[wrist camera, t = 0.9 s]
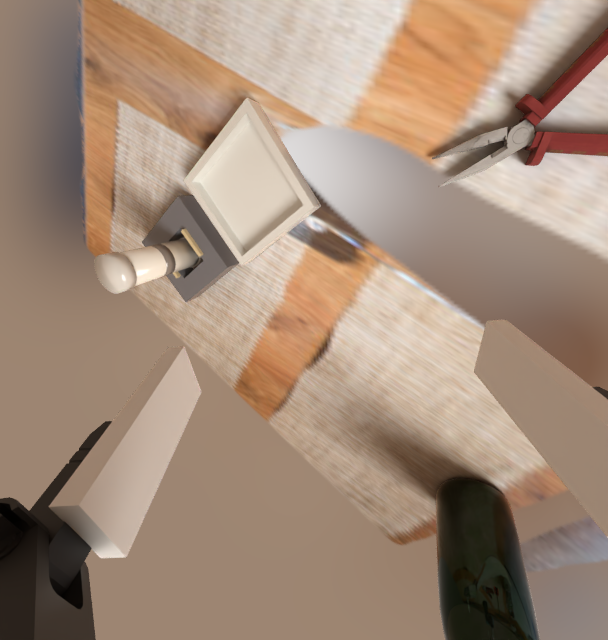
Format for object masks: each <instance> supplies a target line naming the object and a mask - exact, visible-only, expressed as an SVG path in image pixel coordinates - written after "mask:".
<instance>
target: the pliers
mask: <svg viewBox="0 0 608 640" xmlns="http://www.w3.org/2000/svg"><path fill="white" fill-rule="evenodd" d="M607 55H608V28H607V29H606V30H605V31H604V32H603V33H602V34H601V35H600V36H599V37H598V38H597V39H596V40H595V42H594V43H593V44H592V45H591V46H590V47H589V48H588V49H587V50H586V51H585V52H584V53H583V54H582V55H581V56H580V57H579V58H578V59H577V60H576V61H575V62H574V63H573V64H572V65H571V66H570V67H569V68H568V69H567V70H566V72H565V73H564V74H563V75H562V76H561V77H560V78H559V79H558V80H557V81H556V82H555V83H554V84H553V85H552V86H551V87H550V88H549V89H548V90H547V91H546V92H545V93H544V94H543V95H542V96H541V97H540V98H539V99H538V100H537V99H536V98H534V97H533V96H531V95H529V94H526V95H525V96H524V97H523V98H522V99H521V100H520V101H519V102H518V103H517V104H516V105H515V106H516V107H517V108H518V109H519V110H520V111H521V112H522V113H524V114H525V115H524V116H523V117H522V118H521V119H520V122H521V123H519V124H518V125H515V126H512V127H505V128H501V129H498V130H494V131H491V132H487V133H484V134H481V135H478V136H475V137H473V138H471V139H469V140H467V141H465V142H463V143H461V144H459V145H457V146H455V147H453V148H451V149H449V150H447V151H445V152H443V153H441V154H439V155H437V156H435V157H433V158H432V159H436V158H440V157H444V156H448V155H452V154H456V153H460V152H464V151H468V150H472V149H476V148H480V147H484V146H487V145H488V144H491V143H495V142H499V141H502V142H503V143H504V146H503V147H502V148H500V149H499V150H497V151H496V152H494V153H492V154H491V155H488V156H487V157H485V158H483V159H482V160H480V161H479V162H477V163H475V164H474V165H472V166H471V167H469V168H467V169H466V170H464V171H462V172H461V173H459V174H457V175H456V176H454V177H453V178H451V179H449V180H448V181H446V182H444V183H443V184H441V185H440V186H439V187H441V186H444V185H446V184H449V183H452V182H455V181H457V180H460V179H463V178H465V177H468V176H471V175H473V174H476V173H479V172H482V171H484V170H486V169H487V168H489V167H491V166H493V165H494V164H496V163H498V162H499V161H501V160H503V159H505V158H506V157H508V156H510V155H511V154H513V153H515V152H516V151H518V150H520V149H521V148H525V150H531V152H530V155H529V157H528V160H527V162H526V164H525V165H530V166H535V165H538V164H539V163H540V162H541V160H542V158H543V156H544V154H545V152H550V153H566V154H582V155H598V156H608V135H607V134H584V133H560V132H535V130H534V127H535V126H536V125H537V124H538V123H539V122H540V121H541V120H542V119H544V118H545V117H546V116H547V115H548V114H549V113H550V111H551V110H552V109H553V108H554V107H555V106H556V105H558V104H559V103H560V102H561V101H562V100H563V99H564V98H565V97H566V96H567V95H568V94H569V93H570V92H571V91H572V90H573V89H574V88H575V87H576V86H577V85H578V84H579V83H580V82H581V81H582V80H583V79H584V78H585V77H586V76H587V75H588V74H589V73H590V72H591V71H592V70H593V69H594V68H595V67H596V66H597V65H598V64H599V63H600V62H601V61H602V60H603V59H604V58H605V57H606V56H607Z"/></svg>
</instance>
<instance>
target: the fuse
mask: <svg viewBox="0 0 608 640" xmlns="http://www.w3.org/2000/svg"><path fill="white" fill-rule="evenodd" d="M201 262H203V259H202V258H201V256H200V257H199V256H198V255H197V254H196V252H195V251H194V249H193V248H192V247H191V245H190V244H189V242H188V241H187V239H186V238H185V237H183V238H180V239H179V240H175V241H171V242H166V243H162V244H155V245H151V246H147V247H143V248H139V249H134V250H129V251H125V252H120V253H119V252H112V253H107V254H103V255H99V256H97V257H96V258H95V261H94V268H95V272H96V275H97V277H98V279H99V281H100V282H101V284H103V286H104V287H105V288H106V289H107V290H108V291H110V292H112V293H116V294H117V293H121V292H124V291H126V290H129V289H132V288H134V287H135V286H136V285H139V284H142V283H145V282H148V281H151V280H154V279H157V278H160V277H164V276H167V275H169V274H172V273H174V272H177V271H180V270H183V269H186V268H189V267H196V266H198V265H199V264H200V263H201Z"/></svg>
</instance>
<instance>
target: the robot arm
mask: <svg viewBox="0 0 608 640" xmlns="http://www.w3.org/2000/svg"><path fill="white" fill-rule="evenodd" d="M474 373H475V374H476V375H477V376H478V378H479V379H480V380H481V381H482V383H483V384H484V385H485V386H486V388H487V389H488V390H489V391H490V393H491V394H492V395H493V396H494V397H495V399H496V400H497V401H498V402H499V404H500V405H501V406H502V407H503V409H504V410H505V411H506V412H507V414H508V415H509V416H510V417H511V419H512V420H513V421H514V422H515V424H516V425H517V426H518V427H519V428H520V430H521V431H522V432H523V433H524V435H525V436H526V437H527V438H528V440H529V441H530V442H531V443H532V445H533V446H534V447H535V448H536V450H537V451H538V452H539V453H540V454H541V456H542V457H543V458H544V459H545V461H546V462H547V463H548V464H549V466H550V467H551V468H552V469H553V471H554V472H555V473H556V474H557V476H558V477H559V478H560V479H561V481H562V482H563V483H564V484H565V485H566V487H567V488H568V489H569V490H570V492H571V493H572V494H573V495H574V497H575V498H576V499H577V500H578V502H579V503H580V504H581V505H582V507H583V508H584V509H585V510H586V511H587V513H588V514H589V515H590V516H591V518H592V519H593V520H594V521H595V523H596V524H597V525H598V526H599V528H600V529H601V530H602V531H603V533H604V534H605V535H606V536H607V537H608V391H606V390H604V389H602V388H600V387H591V386H590V385H589V384H587V383H586V382H585V381H583V380H582V379H581V378H580V377H578V376H577V375H576V374H574V373H573V372H572V371H571V370H569V369H568V368H567V367H565V366H564V365H563V364H562V363H560V362H559V361H558V360H557V359H555V358H554V357H552V356H551V355H550V354H549V353H548V352H546V351H545V350H544V349H543V348H541V347H540V346H539V345H537V344H536V343H535V342H534V341H532V340H531V339H530V338H528V337H527V336H526V335H525V334H523V333H522V332H521V331H520V330H518V329H517V328H515V327H514V326H513V325H512V324H510V323H509V322H508V321H506V320H494V321H487V322H486V326H485V330H484V334H483V338H482V342H481V345H480V349H479V353H478V357H477V361H476V365H475V369H474ZM200 394H201V389H200V387H199V384H198V381H197V379H196V376H195V373H194V371H193V368H192V366H191V363H190V360H189V358H188V355H187V352H186V350H185V347H184V346H180V347H168V348H167V349H166V350H165V352H164V353H163V354H162V356H161V357H160V358H159V360H158V361H157V362H156V364H155V365H154V366H153V368H152V369H151V370H150V372H149V373H148V374H147V376H146V377H145V379H144V380H143V381H142V382H141V384H140V385H139V386H138V388H137V389H136V390H135V392H134V393H133V394H132V396H131V397H130V398H129V400H128V401H127V403H126V404H125V405H124V407H123V408H122V409H121V410H120V412H119V413H118V414H117V416H116V417H115V419H114V420H113V421H108V422H105V423H103V424H102V425H101V426H100V427H98V428H97V429H96V430H95V431H94V432H92V433H91V434H90V435H89V437H88V438H87V439H86V440H85V442H84V443H83V444H82V445H81V447H80V448H79V451H77V452H76V453H75V454H74V455H73V457H72V458H71V459H70V462H69V464H66V465H65V467H64V468H63V469H62V471H61V472H60V473H59V475H58V476H57V477H56V478H55V479H54V481H53V482H52V483H51V484H50V486H49V487H48V488H47V489H46V491H45V492H44V493H43V494H42V496H41V497H40V498H39V499H38V501H37V502H36V503H35V505H34V506H33V507H32V508H31V510H30V511H28V510H27V509H26V508H25V507H24V506H23V505H22V504H20V503H19V502H18V501H17V500H15V499H13V498H10V497H9V498H3V499H0V640H96V639H95V630H94V620H93V611H92V601H91V592H90V582H89V573H88V567H87V565H86V563H85V562H84V561H85V559H86V557H87V555H88V553H89V552H90V550H91V549H92V550H93V551H94V552H95V553H96V554H97V555H98V556H99V557H100V558H118V557H127V555H128V552H129V550H130V548H131V546H132V544H133V541H134V539H135V537H136V535H137V533H138V530H139V528H140V526H141V524H142V522H143V519H144V517H145V515H146V513H147V511H148V508H149V506H150V504H151V502H152V500H153V497H154V495H155V493H156V491H157V489H158V486H159V484H160V482H161V480H162V477H163V475H164V473H165V471H166V469H167V467H168V464H169V462H170V460H171V458H172V455H173V453H174V451H175V449H176V447H177V444H178V442H179V440H180V438H181V435H182V434H183V431H184V429H185V427H186V425H187V423H188V420H189V418H190V416H191V414H192V412H193V409H194V407H195V405H196V403H197V401H198V398H199V396H200Z"/></svg>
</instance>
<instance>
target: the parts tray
mask: <svg viewBox="0 0 608 640" xmlns="http://www.w3.org/2000/svg"><path fill="white" fill-rule="evenodd" d="M183 181H184V182H185V183H186V185H187V186H188V188H189V189H190V191H191V192H192V194H193V195H194V197H195V198H196V200H197V201H198V203H199V204H200V205H201V207H202V208H203V210H204V211H205V213H206V214H207V216H208V217H209V219H210V220H211V222H212V223H213V225H214V226H215V228H216V229H217V230H218V232H219V233H220V235H221V236H222V238H223V239H224V241H225V242H226V244H227V245H228V247H229V248H230V250H231V251H232V252H233V254H234V255H235V257H236V258H237V260H238V261H239V263H240V264H241V266H243V265H245V264H247V263H250V262H251V261H253V260H254V259H255V258H256V257H258V256H259V255H260V254H261V253H263V252H264V251H265V250H267V249H268V248H269V247H270V246H272V245H273V244H274V243H275V242H277V241H278V240H279V239H280V238H282V237H283V236H284V235H285V234H287V233H288V232H289V231H290V230H292V229H293V228H294V227H295V226H297V225H298V224H299V223H300V222H302V221H303V220H304V219H305V218H307V217H308V216H309V215H310V214H312V213H313V212H314V211H315V210H317V209H318V208H319V207H320V206H321V205H320V203H319V201H318V200H317V198H316V197H315V195H314V193H313V192H312V190H311V188H310V187H309V185H308V183H307V182H306V180H305V179H304V177H303V175H302V174H301V172H300V170H299V169H298V167H297V165H296V164H295V162H294V160H293V159H292V157H291V156H290V154H289V152H288V151H287V149H286V147H285V146H284V144H283V142H282V141H281V139H280V137H279V136H278V134H277V133H276V131H275V129H274V128H273V126H272V124H271V123H270V121H269V119H268V118H267V116H266V114H265V113H264V111H263V110H262V108H261V106H260V105H259V103H258V102H256V101H254V100H251V99H249V98H246V99H245V100H244V102H243V103H242V104H241V106H240V107H239V108H238V110H237V111H236V112H235V113H234V115H233V116H232V117H231V119H230V120H229V121H228V123H227V124H226V125H225V127H224V128H223V129H222V131H221V132H220V133H219V134H218V136H217V137H216V138H215V140H214V141H213V142H212V144H211V145H210V146H209V148H208V149H207V150H206V152H205V153H204V154H203V155H202V157H201V158H200V159H199V161H198V162H197V163H196V165H195V166H194V167H193V169H192V170H191V171H190V172H189V174H188V175H187V176H186V178H185V179H184V180H183Z"/></svg>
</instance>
